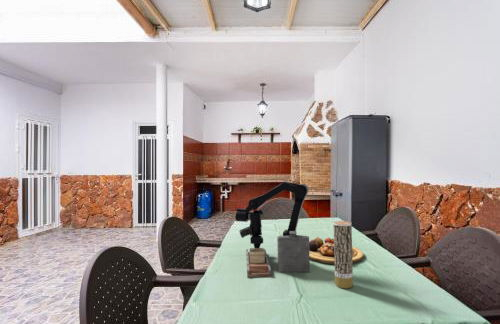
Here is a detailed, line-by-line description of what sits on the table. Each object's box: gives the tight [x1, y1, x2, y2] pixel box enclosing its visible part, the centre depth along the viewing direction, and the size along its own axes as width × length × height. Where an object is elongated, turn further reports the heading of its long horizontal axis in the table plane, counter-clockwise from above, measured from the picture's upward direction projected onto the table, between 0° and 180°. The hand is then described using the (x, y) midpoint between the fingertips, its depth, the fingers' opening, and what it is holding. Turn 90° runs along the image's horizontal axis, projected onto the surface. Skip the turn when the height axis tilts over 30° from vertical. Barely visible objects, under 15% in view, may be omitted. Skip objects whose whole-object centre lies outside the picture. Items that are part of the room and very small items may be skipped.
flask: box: [276, 230, 311, 274], centre depth 125 cm, size 4×14×18 cm, turn 85°
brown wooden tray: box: [245, 248, 272, 278], centre depth 134 cm, size 30×10×4 cm, turn 2°
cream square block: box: [249, 247, 265, 263], centre depth 136 cm, size 7×7×5 cm
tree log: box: [333, 220, 354, 289], centre depth 109 cm, size 7×7×25 cm
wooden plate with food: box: [309, 236, 365, 265], centre depth 146 cm, size 32×32×8 cm
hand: (256, 252), depth 141 cm, fingers closed
